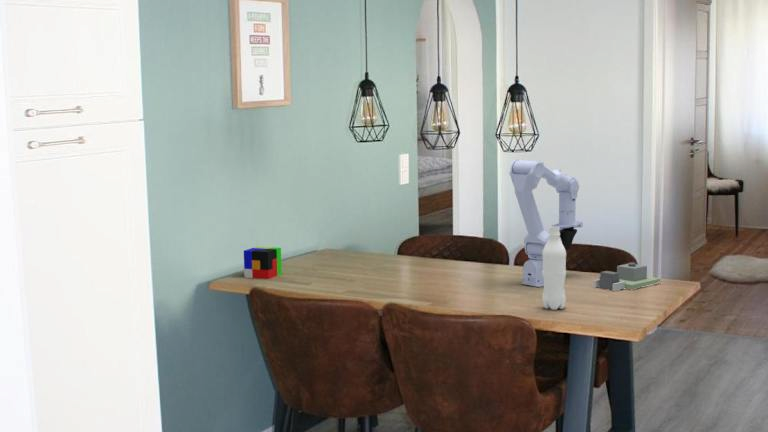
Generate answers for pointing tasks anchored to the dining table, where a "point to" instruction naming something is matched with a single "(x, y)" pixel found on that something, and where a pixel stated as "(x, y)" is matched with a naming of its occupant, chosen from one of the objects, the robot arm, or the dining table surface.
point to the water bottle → (554, 271)
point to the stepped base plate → (631, 277)
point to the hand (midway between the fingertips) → (566, 249)
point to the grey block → (608, 279)
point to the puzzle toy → (262, 262)
